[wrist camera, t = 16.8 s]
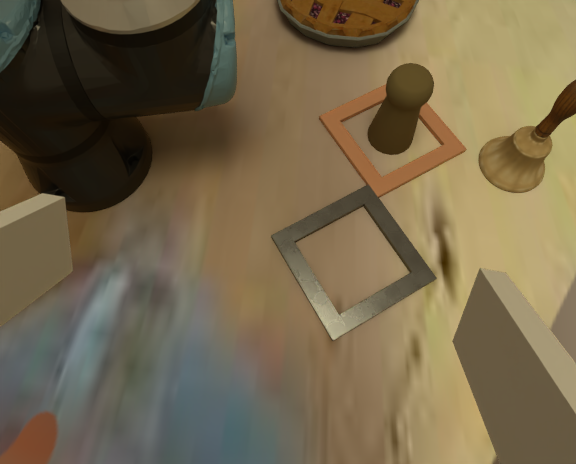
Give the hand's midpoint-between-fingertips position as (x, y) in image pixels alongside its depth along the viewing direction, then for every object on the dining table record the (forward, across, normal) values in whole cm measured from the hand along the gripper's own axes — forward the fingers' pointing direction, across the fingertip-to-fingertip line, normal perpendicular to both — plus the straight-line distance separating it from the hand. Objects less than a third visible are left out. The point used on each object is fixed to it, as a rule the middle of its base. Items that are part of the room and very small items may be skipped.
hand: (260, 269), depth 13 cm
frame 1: (+44, +9, -2) cm, 45 cm away
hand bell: (+43, +25, -3) cm, 50 cm away
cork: (+45, +9, -2) cm, 46 cm away
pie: (+61, 0, +15) cm, 63 cm away
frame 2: (+32, +6, -15) cm, 35 cm away
